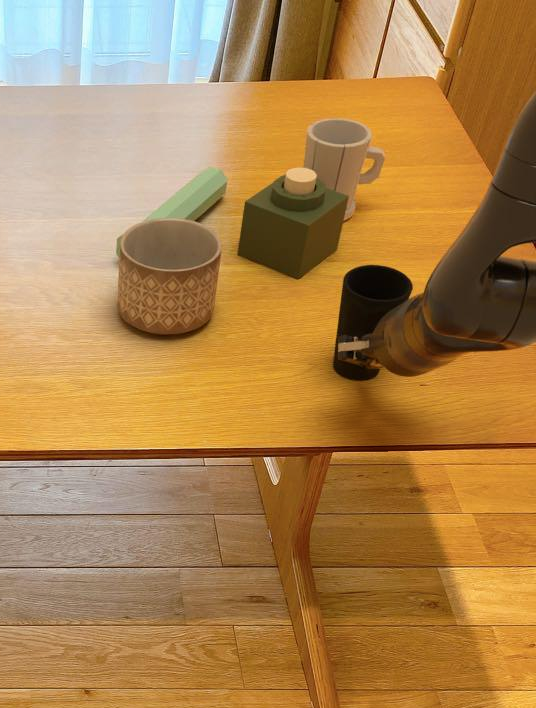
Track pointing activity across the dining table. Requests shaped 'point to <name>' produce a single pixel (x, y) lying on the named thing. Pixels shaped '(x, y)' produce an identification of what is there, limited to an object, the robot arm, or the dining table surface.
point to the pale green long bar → (191, 198)
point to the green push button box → (291, 227)
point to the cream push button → (300, 181)
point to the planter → (168, 275)
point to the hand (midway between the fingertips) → (372, 360)
